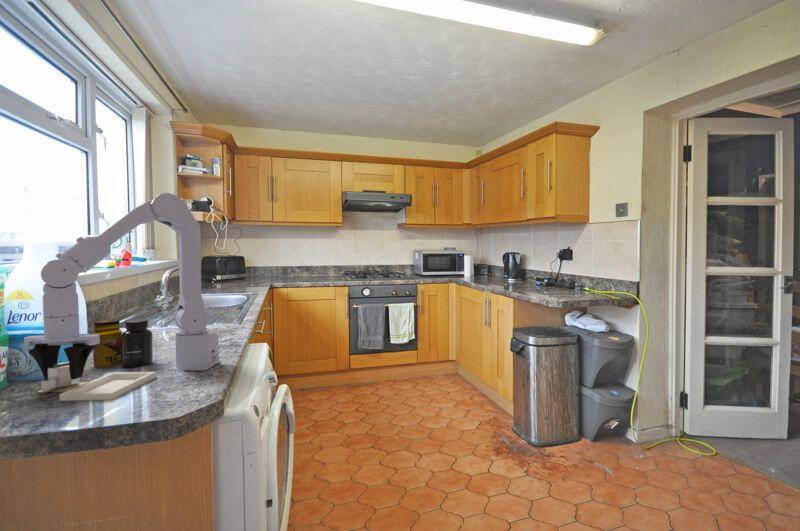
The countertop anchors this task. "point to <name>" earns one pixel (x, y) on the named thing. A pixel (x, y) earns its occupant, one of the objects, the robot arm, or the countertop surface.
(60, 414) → the countertop surface
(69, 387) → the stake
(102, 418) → the countertop surface
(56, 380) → the ring
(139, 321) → the supplement bottle
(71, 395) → the tray
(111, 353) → the condiment
